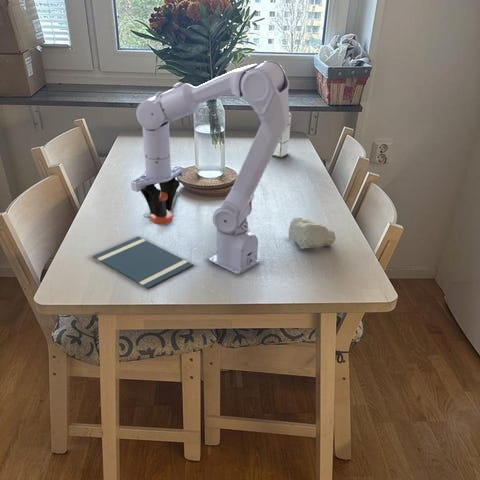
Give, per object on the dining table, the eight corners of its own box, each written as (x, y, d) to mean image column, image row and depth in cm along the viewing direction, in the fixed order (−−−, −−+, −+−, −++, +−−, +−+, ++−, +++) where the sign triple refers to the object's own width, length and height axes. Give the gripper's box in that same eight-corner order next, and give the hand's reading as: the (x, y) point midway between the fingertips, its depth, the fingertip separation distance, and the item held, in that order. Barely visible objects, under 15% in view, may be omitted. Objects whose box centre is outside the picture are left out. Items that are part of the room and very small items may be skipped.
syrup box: (288, 153, 185) (292, 112, 177) (280, 158, 181) (284, 116, 173) (274, 150, 188) (277, 109, 179) (266, 154, 184) (269, 113, 175)
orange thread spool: (176, 220, 123) (175, 195, 119) (160, 226, 119) (158, 201, 116) (162, 213, 125) (160, 188, 121) (146, 219, 122) (144, 194, 118)
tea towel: (193, 265, 120) (193, 264, 120) (147, 289, 111) (147, 287, 111) (138, 237, 130) (138, 236, 130) (92, 257, 121) (92, 255, 121)
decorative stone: (342, 240, 129) (331, 218, 121) (317, 266, 129) (304, 245, 121) (313, 220, 135) (301, 198, 127) (290, 245, 135) (276, 224, 127)
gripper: (169, 143, 119) (172, 198, 128) (120, 158, 110) (126, 215, 119) (190, 151, 116) (191, 206, 124) (140, 166, 107) (145, 225, 115)
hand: (161, 211), depth 121 cm, fingers closed on orange thread spool, 3 cm apart
